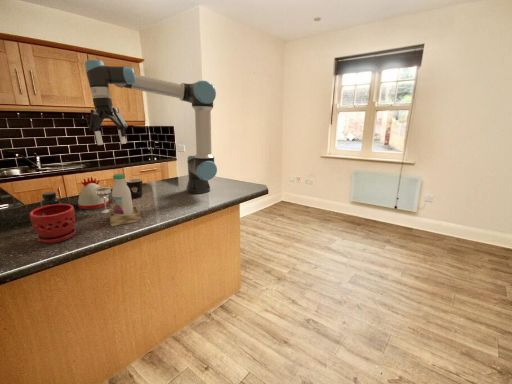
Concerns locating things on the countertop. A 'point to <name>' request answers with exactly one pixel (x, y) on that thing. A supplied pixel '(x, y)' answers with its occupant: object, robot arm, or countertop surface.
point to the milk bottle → (121, 197)
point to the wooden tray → (125, 217)
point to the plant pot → (54, 222)
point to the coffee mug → (135, 187)
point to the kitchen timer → (90, 196)
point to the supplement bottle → (49, 200)
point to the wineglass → (103, 195)
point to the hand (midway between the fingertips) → (112, 144)
